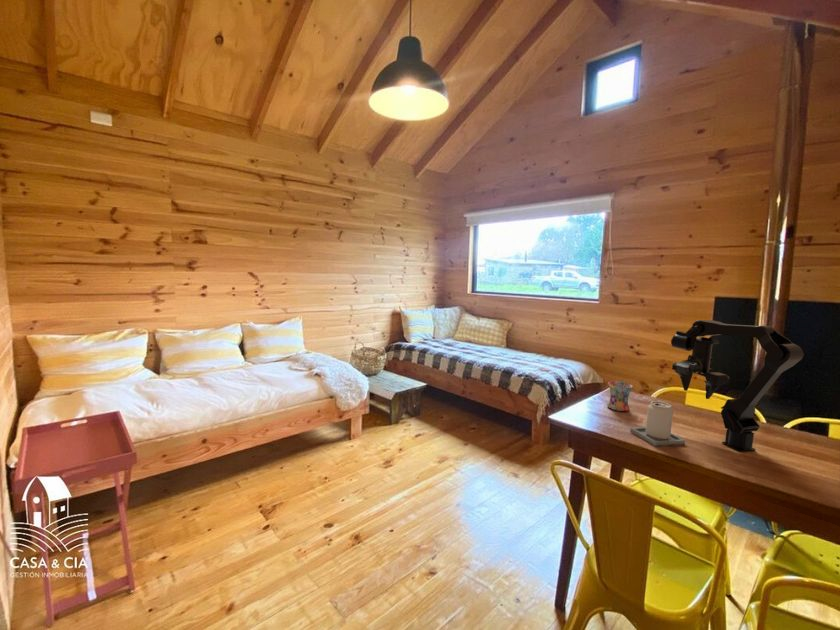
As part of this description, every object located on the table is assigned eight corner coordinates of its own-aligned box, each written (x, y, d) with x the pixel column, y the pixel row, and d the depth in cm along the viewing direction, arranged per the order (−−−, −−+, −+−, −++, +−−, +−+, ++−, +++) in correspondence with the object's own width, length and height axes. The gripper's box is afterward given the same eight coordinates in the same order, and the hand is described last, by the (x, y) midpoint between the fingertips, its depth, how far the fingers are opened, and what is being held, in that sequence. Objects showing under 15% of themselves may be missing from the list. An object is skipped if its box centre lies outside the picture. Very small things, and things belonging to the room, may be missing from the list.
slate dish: (684, 444, 131) (685, 440, 131) (655, 446, 129) (655, 442, 129) (657, 430, 143) (658, 426, 142) (630, 431, 140) (630, 427, 140)
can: (650, 430, 141) (654, 398, 139) (673, 437, 135) (677, 404, 133) (641, 434, 137) (644, 402, 135) (664, 443, 131) (668, 409, 129)
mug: (625, 414, 157) (628, 389, 156) (602, 408, 164) (604, 383, 162) (635, 407, 165) (638, 383, 164) (613, 401, 172) (615, 378, 171)
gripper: (662, 348, 150) (657, 387, 152) (706, 360, 131) (700, 404, 134) (686, 348, 152) (681, 386, 154) (733, 359, 134) (727, 403, 136)
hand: (696, 394), depth 144 cm, fingers open, 9 cm apart
